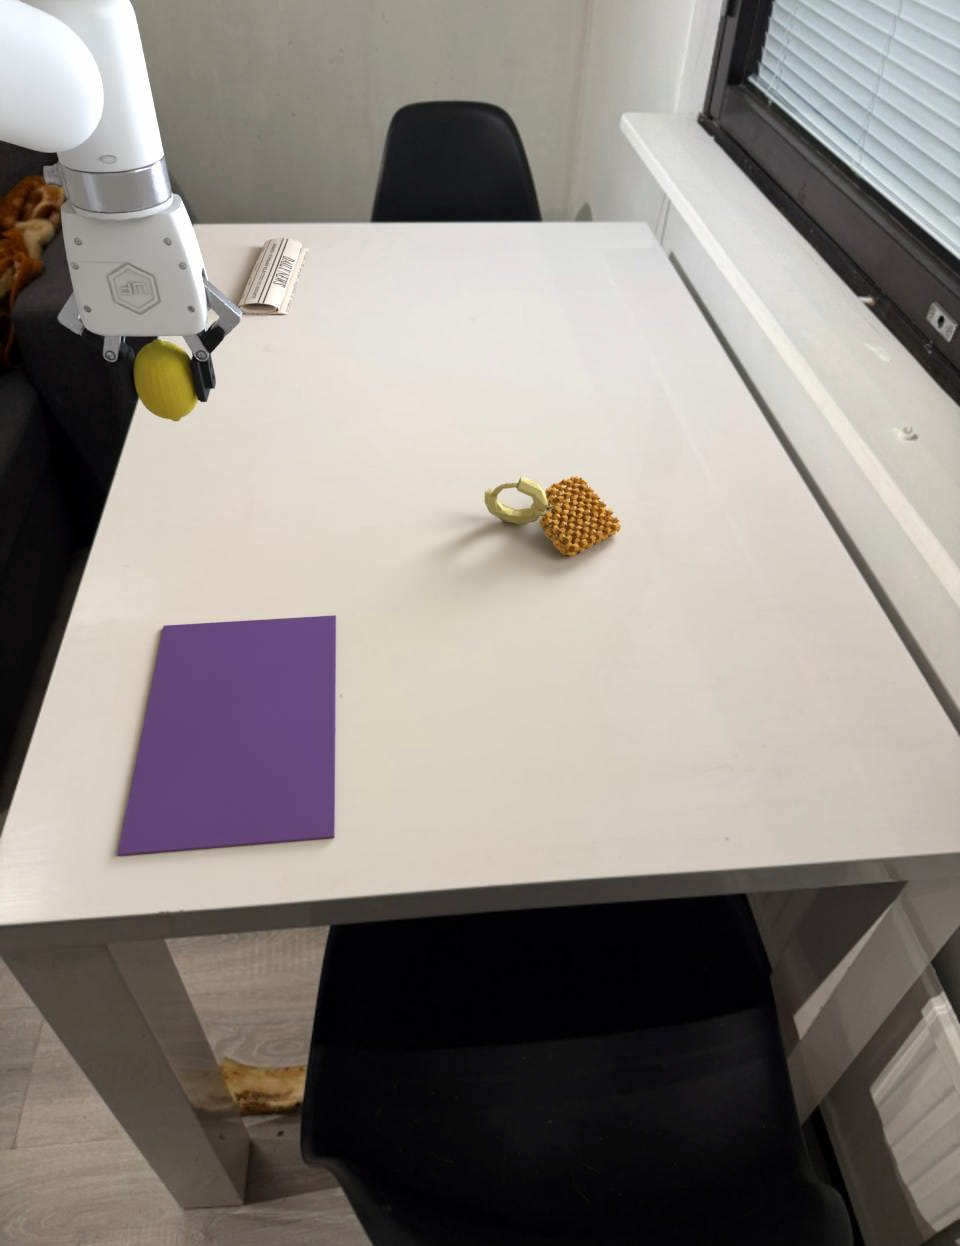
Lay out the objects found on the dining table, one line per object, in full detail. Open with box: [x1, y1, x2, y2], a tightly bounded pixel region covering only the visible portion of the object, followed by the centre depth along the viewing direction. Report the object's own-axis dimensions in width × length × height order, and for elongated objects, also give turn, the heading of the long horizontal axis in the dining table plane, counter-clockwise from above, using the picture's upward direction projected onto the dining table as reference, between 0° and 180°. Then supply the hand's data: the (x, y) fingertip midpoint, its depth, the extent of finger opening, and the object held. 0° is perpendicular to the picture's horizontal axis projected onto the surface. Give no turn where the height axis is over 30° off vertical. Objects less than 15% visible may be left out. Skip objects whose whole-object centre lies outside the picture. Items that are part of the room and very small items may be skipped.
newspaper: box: [236, 237, 310, 316], centre depth 134 cm, size 24×7×2 cm, turn 0°
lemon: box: [133, 338, 199, 423], centre depth 78 cm, size 6×6×8 cm
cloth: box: [117, 614, 337, 857], centre depth 74 cm, size 24×16×1 cm, turn 6°
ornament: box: [484, 475, 622, 557], centre depth 92 cm, size 7×10×15 cm
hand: (170, 393), depth 79 cm, fingers closed on lemon, 5 cm apart
